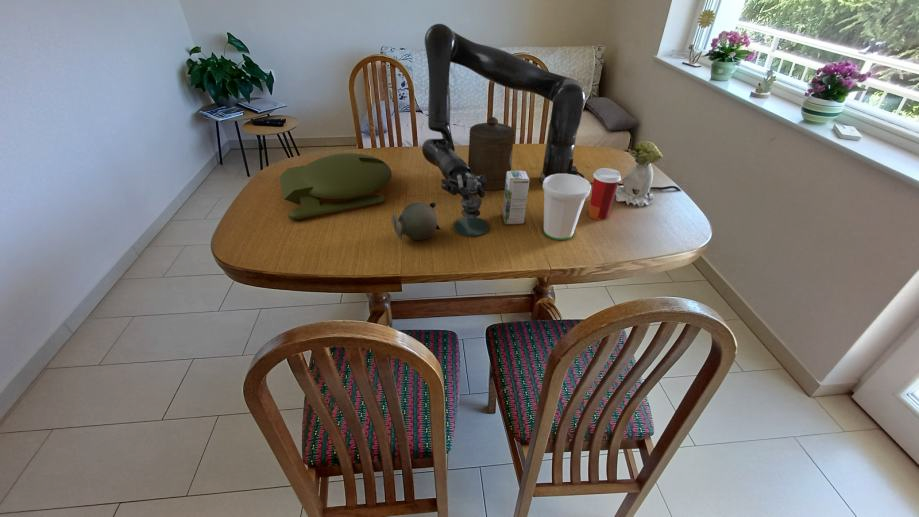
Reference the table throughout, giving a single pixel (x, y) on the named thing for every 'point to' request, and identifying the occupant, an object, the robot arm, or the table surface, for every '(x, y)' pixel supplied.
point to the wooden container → (491, 152)
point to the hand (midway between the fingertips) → (475, 196)
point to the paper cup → (603, 192)
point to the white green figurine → (639, 175)
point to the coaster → (471, 226)
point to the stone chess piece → (471, 199)
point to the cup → (563, 204)
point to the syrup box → (515, 197)
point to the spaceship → (334, 184)
